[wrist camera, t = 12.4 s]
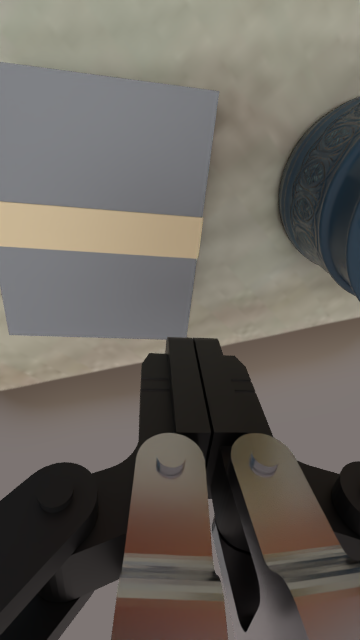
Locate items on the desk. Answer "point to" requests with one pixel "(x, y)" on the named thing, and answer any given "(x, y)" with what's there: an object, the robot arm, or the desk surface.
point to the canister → (326, 195)
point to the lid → (100, 202)
